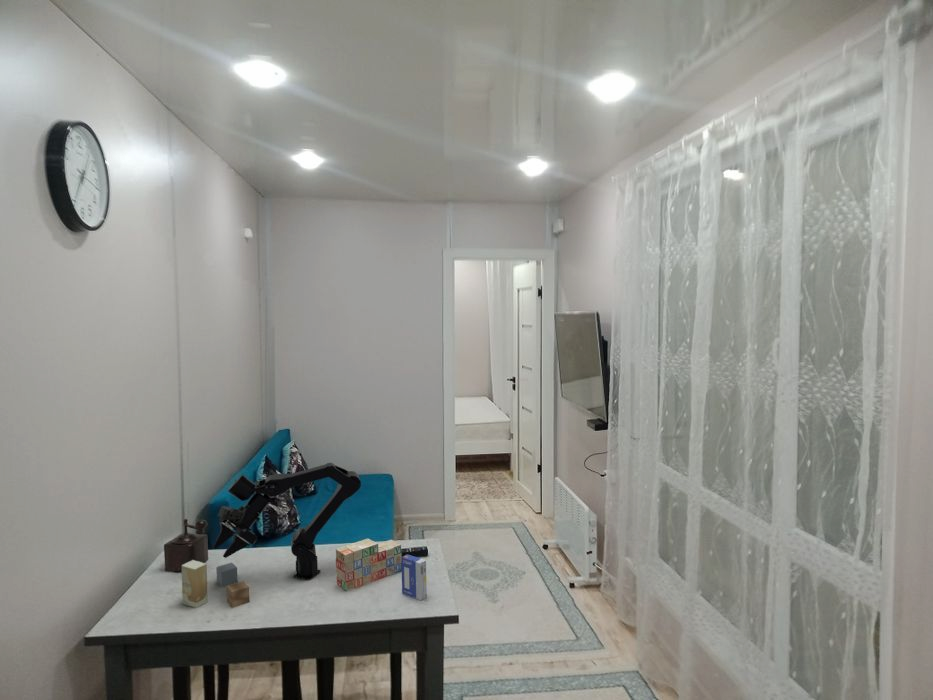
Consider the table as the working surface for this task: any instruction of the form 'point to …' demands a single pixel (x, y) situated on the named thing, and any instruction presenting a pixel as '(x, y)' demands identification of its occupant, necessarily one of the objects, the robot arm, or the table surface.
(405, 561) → the walkman
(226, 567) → the slate cube
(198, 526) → the manual coffee grinder
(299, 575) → the robot arm
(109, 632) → the table surface
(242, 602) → the walnut cube
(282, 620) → the table surface
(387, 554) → the stack of blocks
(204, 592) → the skincare box
